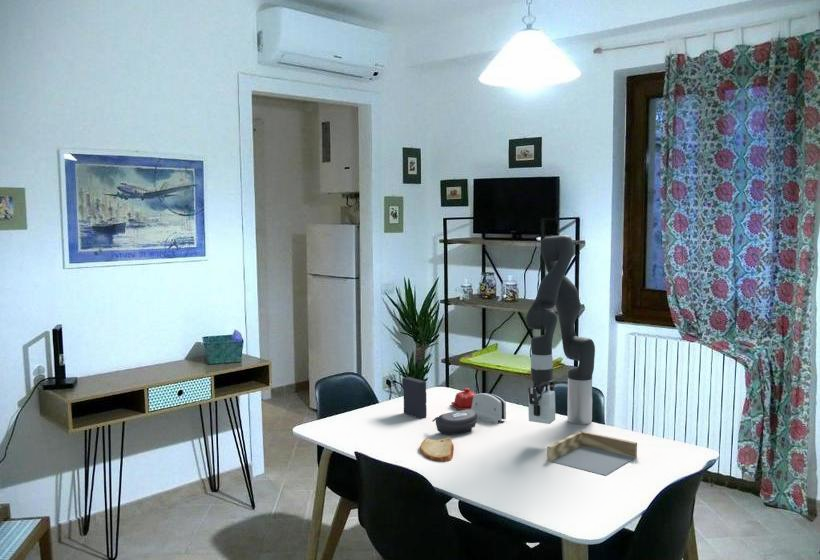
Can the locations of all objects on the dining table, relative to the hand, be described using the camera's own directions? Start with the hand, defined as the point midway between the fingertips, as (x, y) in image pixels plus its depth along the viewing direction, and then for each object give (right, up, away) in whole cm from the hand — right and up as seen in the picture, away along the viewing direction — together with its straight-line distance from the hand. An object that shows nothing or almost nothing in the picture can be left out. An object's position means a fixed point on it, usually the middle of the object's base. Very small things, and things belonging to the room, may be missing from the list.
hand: (541, 413), depth 241 cm
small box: (0, -3, 0) cm, 3 cm away
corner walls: (+13, -12, -16) cm, 24 cm away
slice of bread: (-36, -12, -7) cm, 39 cm away
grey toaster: (-16, -9, +33) cm, 38 cm away
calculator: (-44, -8, +37) cm, 58 cm away
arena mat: (+14, -12, -17) cm, 25 cm away
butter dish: (-22, -7, +50) cm, 55 cm away
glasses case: (-29, -10, +15) cm, 34 cm away
